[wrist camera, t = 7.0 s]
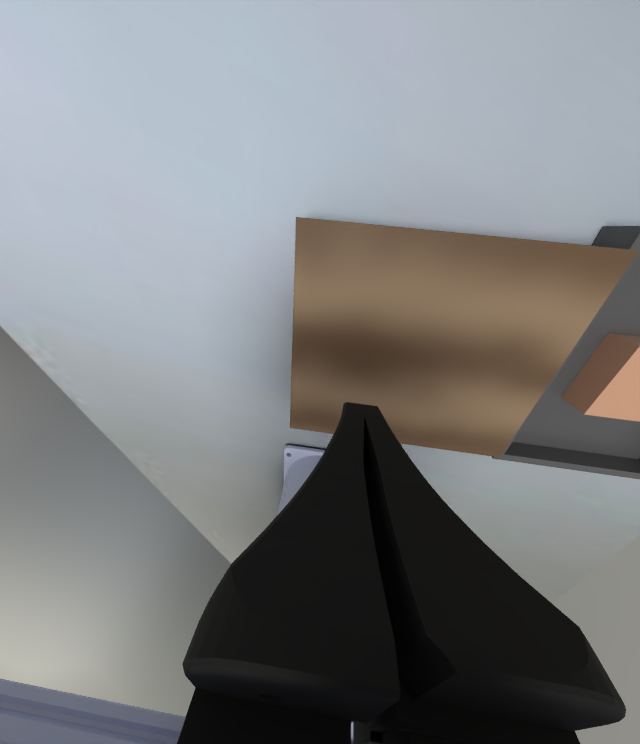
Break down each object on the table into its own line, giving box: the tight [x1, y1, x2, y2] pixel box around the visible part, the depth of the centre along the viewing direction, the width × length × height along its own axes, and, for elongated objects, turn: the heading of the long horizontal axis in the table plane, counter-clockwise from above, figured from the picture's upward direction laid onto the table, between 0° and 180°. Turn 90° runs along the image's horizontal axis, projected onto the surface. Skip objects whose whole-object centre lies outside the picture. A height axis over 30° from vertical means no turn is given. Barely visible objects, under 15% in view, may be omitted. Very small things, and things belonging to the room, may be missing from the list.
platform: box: [290, 217, 639, 457], centre depth 17 cm, size 14×16×3 cm
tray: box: [492, 226, 640, 479], centre depth 16 cm, size 16×13×2 cm
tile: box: [562, 333, 640, 422], centre depth 16 cm, size 5×5×2 cm
